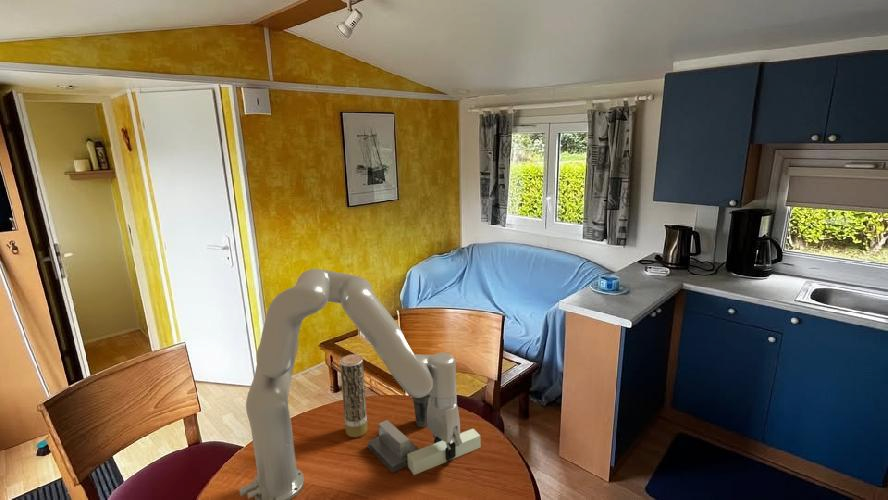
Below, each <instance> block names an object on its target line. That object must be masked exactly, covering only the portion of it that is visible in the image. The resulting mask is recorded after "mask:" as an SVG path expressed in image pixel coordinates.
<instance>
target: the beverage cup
mask: <svg viewBox="0 0 888 500" xmlns="http://www.w3.org/2000/svg"><path fill="white" fill-rule="evenodd" d="M411 398H412V400H413V401H412V402H413V408H414V416H415V421H416V425H417V426H418V427H419V428H428V426H427V407H428V401H429V398H430V393H429V394H428V395H426V396H425V397H422V398H415V397H412V396H411Z"/></svg>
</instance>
